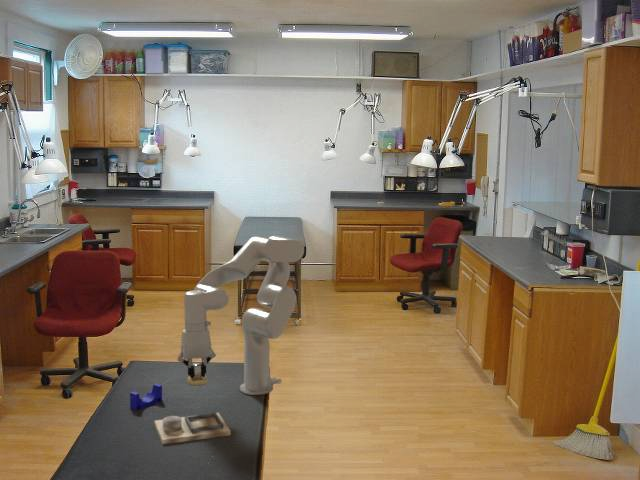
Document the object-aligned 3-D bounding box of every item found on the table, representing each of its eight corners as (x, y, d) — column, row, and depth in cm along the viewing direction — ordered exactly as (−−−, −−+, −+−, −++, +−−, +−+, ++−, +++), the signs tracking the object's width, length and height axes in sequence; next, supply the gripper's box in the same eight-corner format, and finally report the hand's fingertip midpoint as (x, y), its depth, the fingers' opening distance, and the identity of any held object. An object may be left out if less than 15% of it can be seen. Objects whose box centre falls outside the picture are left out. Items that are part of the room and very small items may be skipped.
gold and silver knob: (205, 377, 271) (204, 360, 270) (209, 384, 264) (208, 366, 263) (185, 379, 268) (185, 362, 267) (189, 387, 262) (188, 369, 261)
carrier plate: (218, 416, 261) (218, 404, 261) (230, 435, 247) (230, 422, 246) (154, 424, 253) (154, 412, 253) (162, 444, 239) (162, 430, 238)
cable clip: (153, 398, 277) (153, 382, 276) (162, 401, 275) (161, 385, 274) (127, 407, 268) (127, 391, 267) (135, 410, 265) (135, 394, 264)
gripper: (216, 320, 269) (217, 370, 272) (169, 325, 263) (171, 375, 266) (221, 326, 262) (222, 377, 266) (174, 331, 256) (175, 383, 260)
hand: (197, 375), depth 266 cm, fingers closed on gold and silver knob, 3 cm apart
